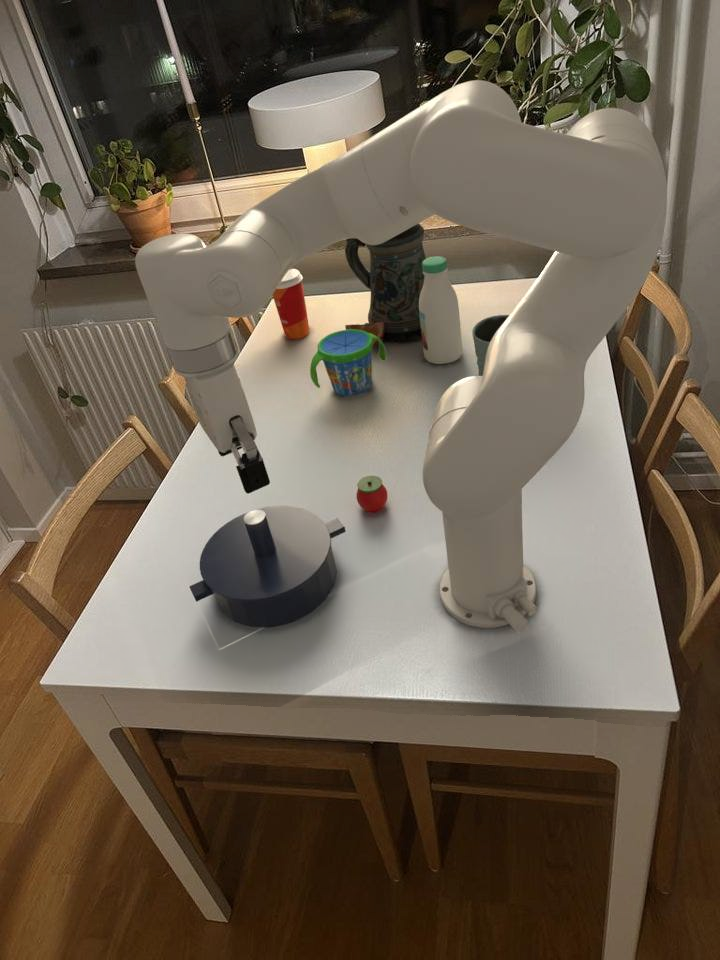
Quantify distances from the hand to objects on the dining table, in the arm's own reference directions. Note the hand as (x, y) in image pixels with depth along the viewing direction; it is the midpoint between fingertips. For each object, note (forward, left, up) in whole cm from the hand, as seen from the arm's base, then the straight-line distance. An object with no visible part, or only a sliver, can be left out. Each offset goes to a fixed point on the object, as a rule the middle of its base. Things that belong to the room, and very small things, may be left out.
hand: (244, 469), depth 93 cm
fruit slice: (+54, -43, -18) cm, 72 cm away
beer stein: (+56, -53, -21) cm, 80 cm away
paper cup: (+70, -34, -21) cm, 81 cm away
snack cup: (+40, -33, -21) cm, 56 cm away
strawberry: (+6, -19, -21) cm, 28 cm away
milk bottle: (+39, -52, -21) cm, 68 cm away
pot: (0, 0, -21) cm, 21 cm away
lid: (0, +1, -15) cm, 15 cm away
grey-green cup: (+21, -55, -21) cm, 62 cm away
